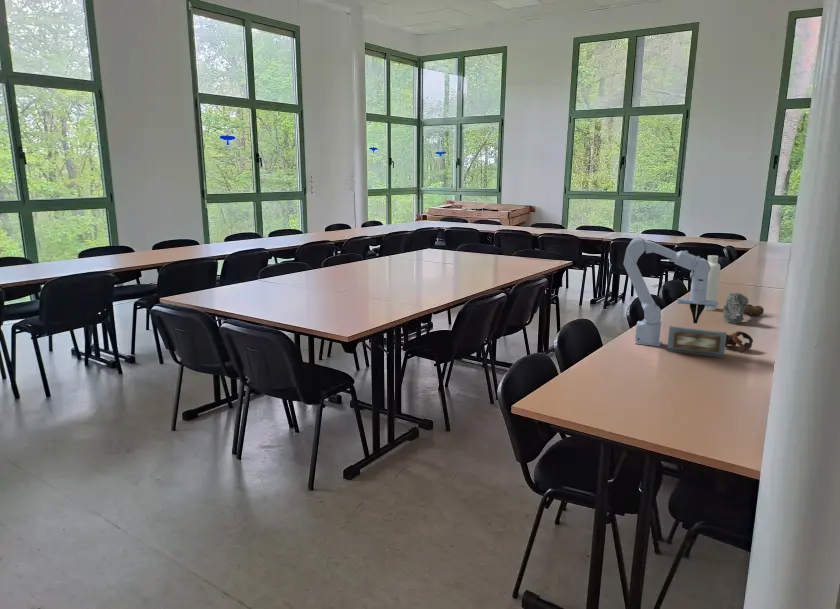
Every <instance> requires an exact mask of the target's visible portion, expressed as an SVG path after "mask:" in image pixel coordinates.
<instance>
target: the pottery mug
mask: <svg viewBox="0 0 840 609" xmlns="http://www.w3.org/2000/svg"><path fill="white" fill-rule="evenodd" d="M740 336H742V338H743V339H746V340H748V342H744V344H743V340H742V339H740V338H739V337H740ZM753 343H754V339H753V337H752V336H751V335H749V333H747V332H744V331H741V330H740V331H735V332H734V333H733V332H732V333H730V334H727V335H726V343H725V348H727V346H728V345H730V346H734V347H736V346H737V345H738V346H739V348H737V351H738V352H739V353H743V352H744V351H747V350H750V349H751V348H752V346H753Z"/></svg>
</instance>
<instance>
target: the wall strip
mask: <svg viewBox="0 0 840 609" xmlns="http://www.w3.org/2000/svg"><path fill="white" fill-rule="evenodd" d="M674 332H684V333H694V334H704V335H715V336H721V339H720V348H719V352H711V351H702V350H692V349H683V348H674V347H673V342H674ZM726 335H728V333H727V331H718V330H708V329H699V328H690V327H682V326H680V327H679V326H669V330H668V338H667V347H666V351H667V352H673V353H683V354H689V355H690V354H692V355H699V356H706V357H707V356H708V357H715V358H725V351H726V350H725V349H726V347H725V343H726Z"/></svg>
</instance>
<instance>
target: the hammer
mask: <svg viewBox="0 0 840 609" xmlns="http://www.w3.org/2000/svg"><path fill="white" fill-rule="evenodd" d="M727 296H728V297H727V299H726V300H725V303H724V305H723V307H722V309H723V310H722V311H723V315H722V317H723V320H725V321H726V322H727V323H729V324H732V325H737V324H740V323H742V321H743V320H744V314H745V315H753V316H756V317H760V316H762V315H763V314H764V311H765V310H764V309H765V308H763V306H762V305H753V304H749V298H748V297H746V296H745V294H742V293H739V292H737V293H736V292H734V293H733V292H731V293H729V294H728V295H727Z"/></svg>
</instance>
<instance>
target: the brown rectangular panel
mask: <svg viewBox="0 0 840 609" xmlns="http://www.w3.org/2000/svg"><path fill="white" fill-rule="evenodd" d="M720 339H721V336H715V335H704V334H694V333H684V332H674V342H673V347H674V348H683V349H692V350H702V351H711V352H719V348H720Z"/></svg>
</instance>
